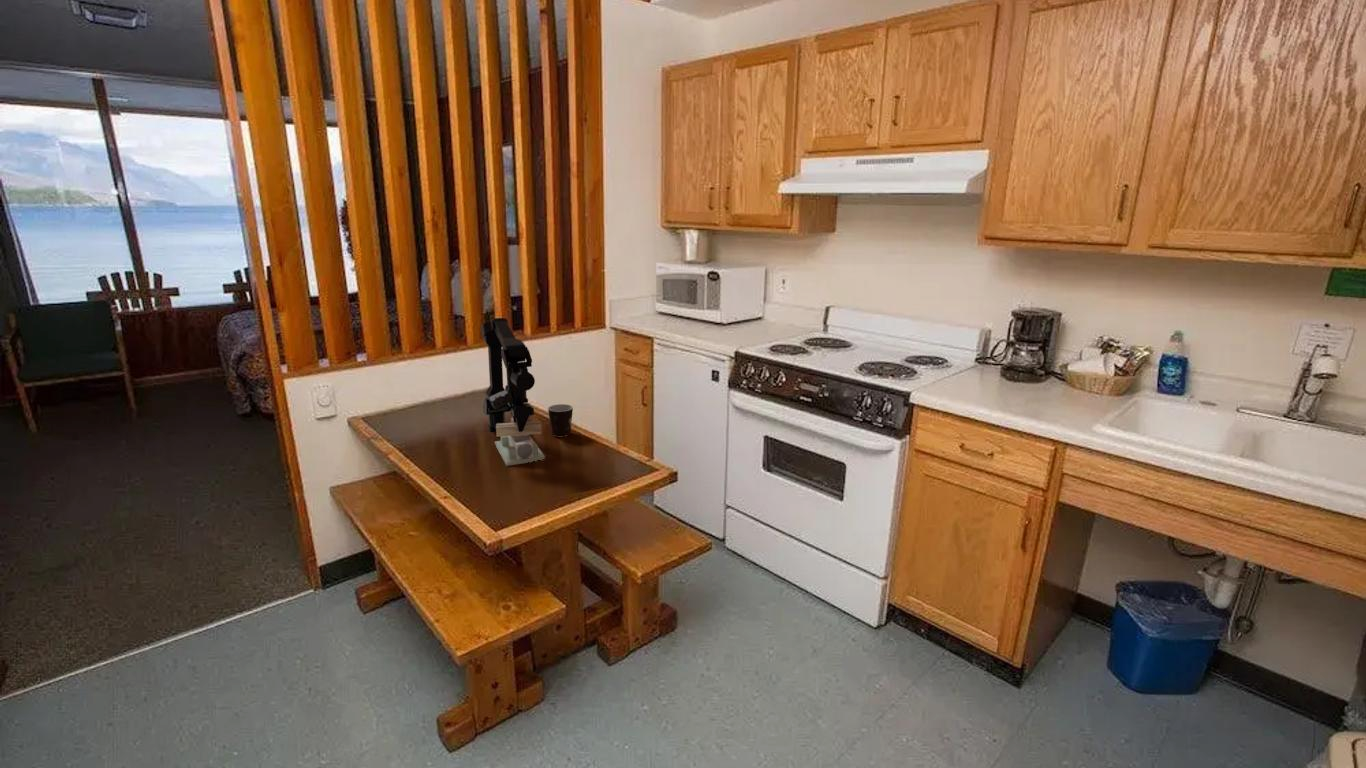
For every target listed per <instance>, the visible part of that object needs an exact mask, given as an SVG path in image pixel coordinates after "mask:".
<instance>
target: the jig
mask: <svg viewBox="0 0 1366 768" xmlns="http://www.w3.org/2000/svg"><path fill="white" fill-rule="evenodd" d="M510 423H514V419H513V417H510ZM499 437H500V440H496V441H494V445H496V446H495V447H496V449H497V451H498V452H499V454H500V457H501V458H502V460H503V462H504V464H505V465H506V467H508V466H515V465H521V464H527V463H528V462H529V463H533V461H535V462H538V461H537V460H541V461H543V460H542V459H545V460H546V456H545V454H544V453H543V452H542V451H541V449H540V448H539V445H538V444H537V443H536V442H535V441H534V439H533V438H532V437H531V434H529V435H514V436H499ZM529 463H528V464H529Z"/></svg>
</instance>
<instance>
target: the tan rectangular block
mask: <svg viewBox="0 0 1366 768" xmlns="http://www.w3.org/2000/svg"><path fill="white" fill-rule="evenodd" d="M495 433H496V438H497V437H500V436H514V435H540V434H541V435H542V421H541V420H537V421H536V420H533V421H527V422H526V424H525V427H524V429H523V431H522V432H519V430H518V426H517V422H516V423H511V422H505V423H500V424H496V431H495Z"/></svg>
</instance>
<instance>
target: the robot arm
mask: <svg viewBox="0 0 1366 768" xmlns="http://www.w3.org/2000/svg"><path fill="white" fill-rule="evenodd" d="M480 335H481V337H482V340H483V341H484V343H485V344H486V346H487V349H488V350H487V352H488V353H487V354H488V369H489V370H488V372H489V386H488V388H487V390H486V391H485V398H484V400H483V403H482V410H483V413H484V414H485V415H486V416H488V423H489V424H486V425H487V426H486V427H487V429H488V428H489V429H488V430H489V432H493V431H495V430H496V424H500V423H506V413H509V412H510V414H511V416H512V418H513V419H514V423H516V422H517V426H518V430H519V432H522V431H523V429H524V427H525V424H526V422H528V419H529V417H530V416H534V415H535V409H534V407H533V406H532V405H531V404H530V403H529V399H528V396H527V391H530V390H532V388H533V387H534V386H535V383H536V379H535V377H534V375H533V374H532V373H531V372H529V369H528V368H529V367H531V368H532V366H533V365H532V363H533V359H532V356H531V353H530V350H529V348H528V346H526V344H525V343H524V342H523V341H522V340H521V339H519V338H518V339H517V338H516V336H515V335H514V333H513V331H512V329H511V327H510V325H509V321H508V318H506V317H497V318H495V317H493V318H491V319H490V320H488V321H485V322H483V323H482V324H481V326H480ZM503 364H504V367H505V369H506V384H505V387H504V375H503V373H504V372H503ZM495 432H496V431H495Z"/></svg>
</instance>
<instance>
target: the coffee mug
mask: <svg viewBox="0 0 1366 768" xmlns="http://www.w3.org/2000/svg"><path fill="white" fill-rule="evenodd" d="M573 409H574V406H572V405H570V404H563V403H561V404H559V403H558V404H553V405H550V406H548V408H547V410H548V411H547V412H548V417H549V422H550V428H551V435H552V434H553V435H556V436H565V435H569V434H570V433H572V432H571V431H572V422H573ZM553 435H552V436H553ZM570 435H571V434H570Z"/></svg>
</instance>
